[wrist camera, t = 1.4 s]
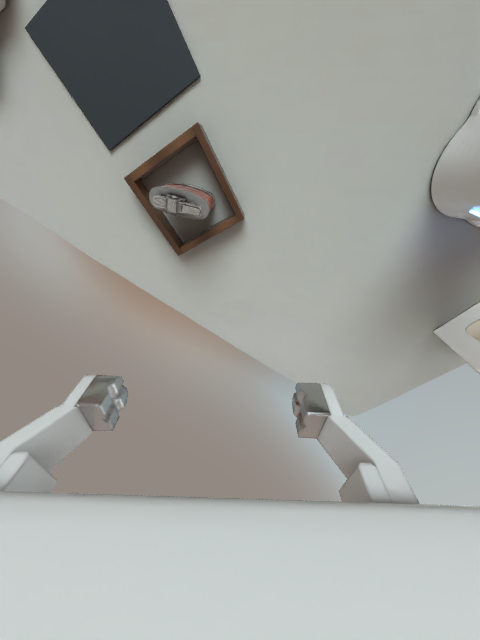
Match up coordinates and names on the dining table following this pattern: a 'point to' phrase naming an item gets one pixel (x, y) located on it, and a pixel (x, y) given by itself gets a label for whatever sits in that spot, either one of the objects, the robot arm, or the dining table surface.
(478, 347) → the gable box
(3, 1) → the walkie-talkie
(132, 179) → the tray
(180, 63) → the mat
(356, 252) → the dining table surface
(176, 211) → the lighter
